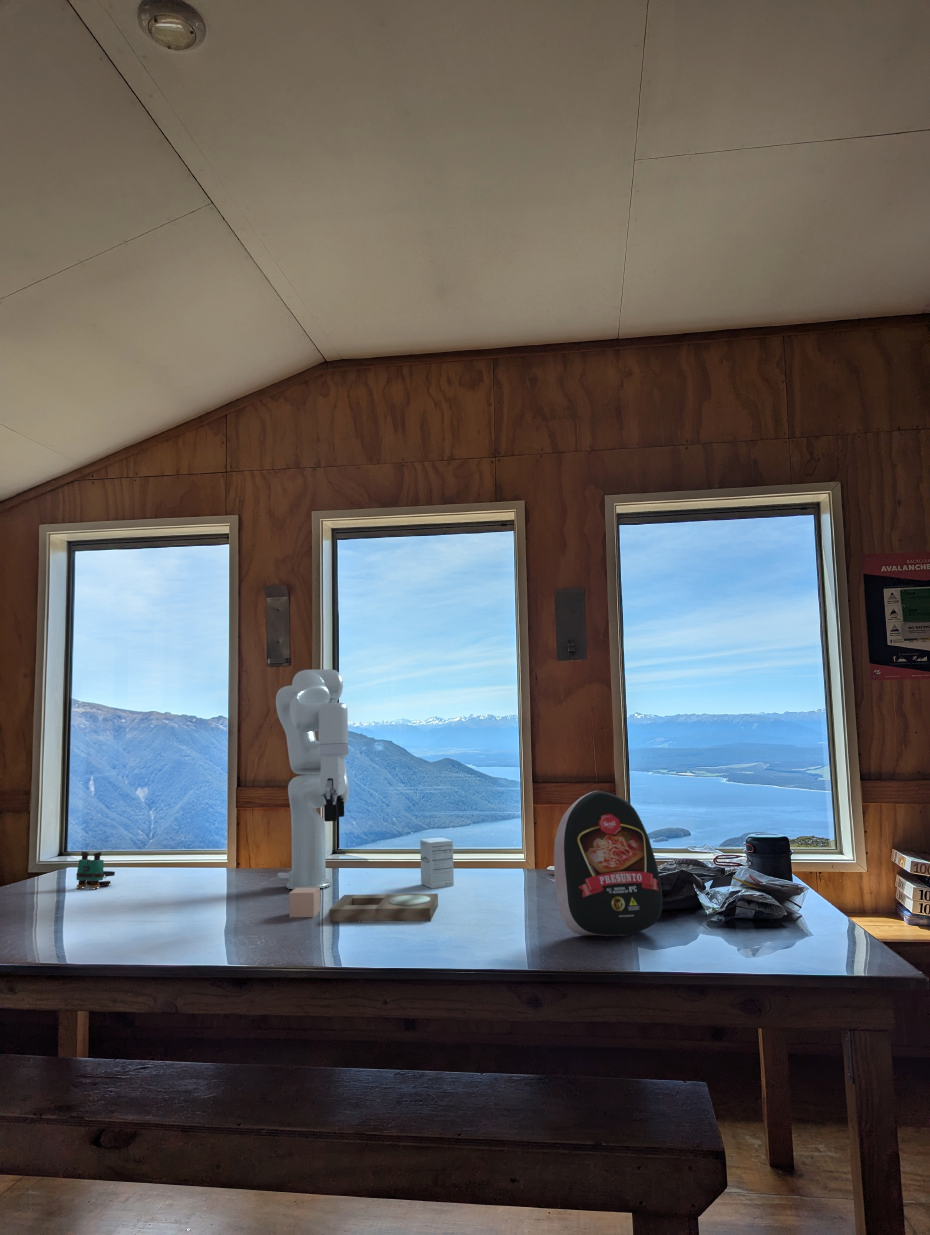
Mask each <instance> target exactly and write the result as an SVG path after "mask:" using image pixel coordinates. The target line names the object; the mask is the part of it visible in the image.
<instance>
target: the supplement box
mask: <svg viewBox="0 0 930 1235" xmlns="http://www.w3.org/2000/svg"><path fill="white" fill-rule="evenodd" d="M419 842H420V845H419V846H420V848H419V850H420V884H421V885H424V886H425V887H429V888H430V889H439V887H440V888H447V886H448V887H453V886H455V881H454V880H455V878H454V877H455V876H454V847H453V846H454V842H453V840H451V839H449V838H448V839H447V838H445V837H443V836H442V837H432V838H422V839H421V838H420V840H419Z"/></svg>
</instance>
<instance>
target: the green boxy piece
mask: <svg viewBox="0 0 930 1235" xmlns="http://www.w3.org/2000/svg"><path fill="white" fill-rule="evenodd" d="M80 856H81V859H79V860H78V864H77V871H76V874H75V875H76V876H75V878H76V881H78V884H76V888H77V887H78V888H82V887H86V886H87V887H88V885H89V889H90V888H97V887H99V888H100V887H103V886H102V885H106V886H110V885H111V883H112V882H111V880H104V881H103V879H106V878H107V877H113V876H115V874H116V871H114V870H113V871H110V870H109V871H108V870H104V864H105V863H104V859H101V857H102V851H98V852H96V853H95V852H94V853H93V857H94V858H93V859H88V858H89V856H90V853H89V852H87V851H81V855H80ZM109 884H110V885H109ZM87 887H86V888H87Z"/></svg>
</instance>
